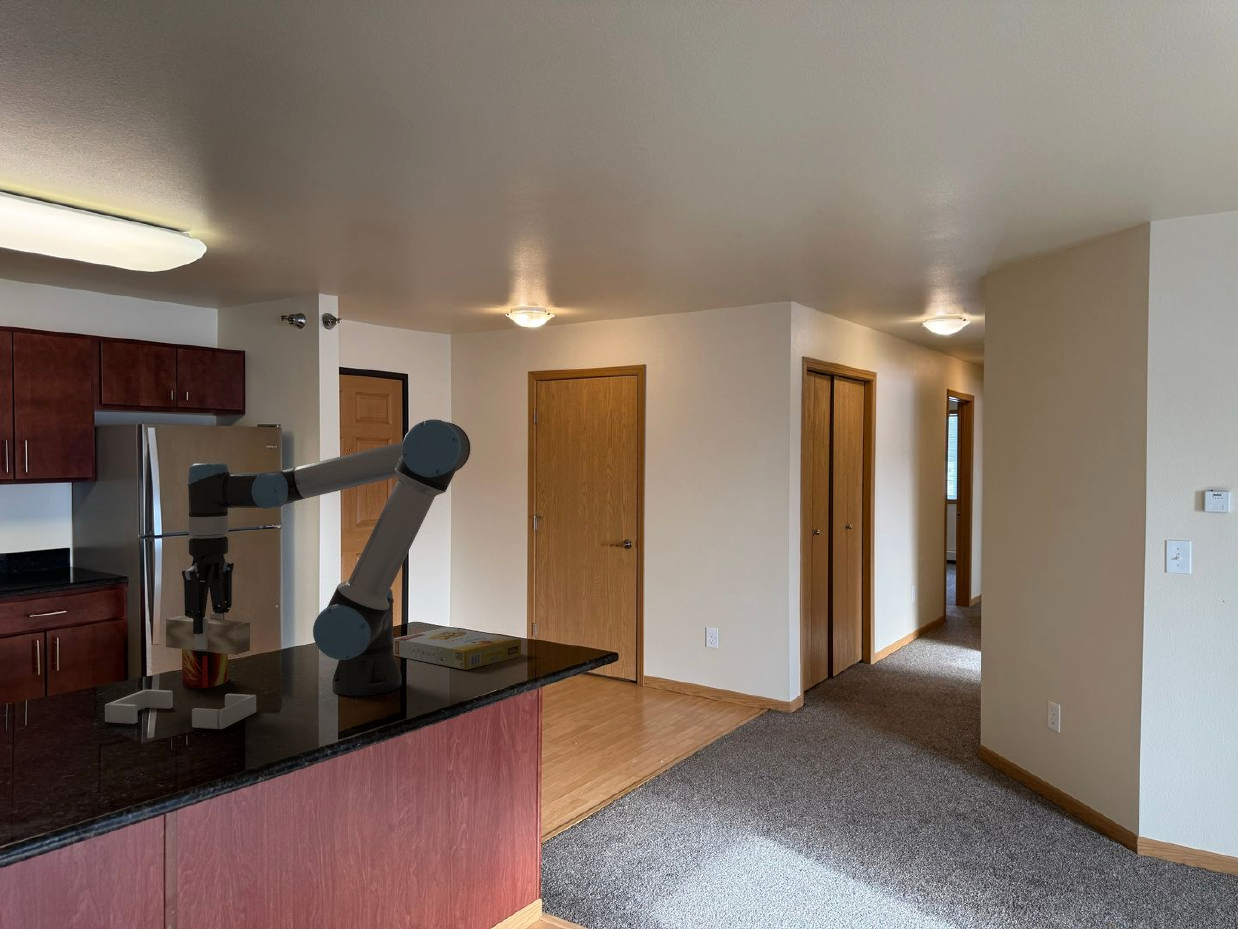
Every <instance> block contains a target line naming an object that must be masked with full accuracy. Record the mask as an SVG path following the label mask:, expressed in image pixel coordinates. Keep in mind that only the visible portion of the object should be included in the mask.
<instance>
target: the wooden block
mask: <svg viewBox="0 0 1238 929" xmlns="http://www.w3.org/2000/svg"><path fill="white" fill-rule="evenodd" d="M207 618H208V649H206V650H204V649H194V633H193V618H188V617H186V616H185V615H179V616H178V615H177V616H174V617H169V618H166V619H165V648H170V649H178V650H180V649H181V650H182V649H187V650H196V651H205V652H215V653H224V654H228V655H233V656H234V655H235V656H236V655H240V654H244V653H246V652H249V651H251V647H250V646H251V622H249V621H241V620H229V619H224V620H221V619H210V617H207Z"/></svg>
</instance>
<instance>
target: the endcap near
mask: <svg viewBox="0 0 1238 929" xmlns="http://www.w3.org/2000/svg"><path fill="white" fill-rule="evenodd" d="M255 713H257V695H256V694H245V693H244V694H243V693H242V694H241V693H227V694H225V695H224V707H222V708H220V709H216V708H204V707H202V708H200V707H198V708H197V707H194V708H192V709H191V725H192V726H191V728H197V729H199V728H200V729H212V730H213V729H214V730H223V729H225V728H227V727H230V726H231V725H233V724H235V723H237V722H239V721H241V720H243V719H245V718H247V717H249V716H251V715H253V714H255Z"/></svg>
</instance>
